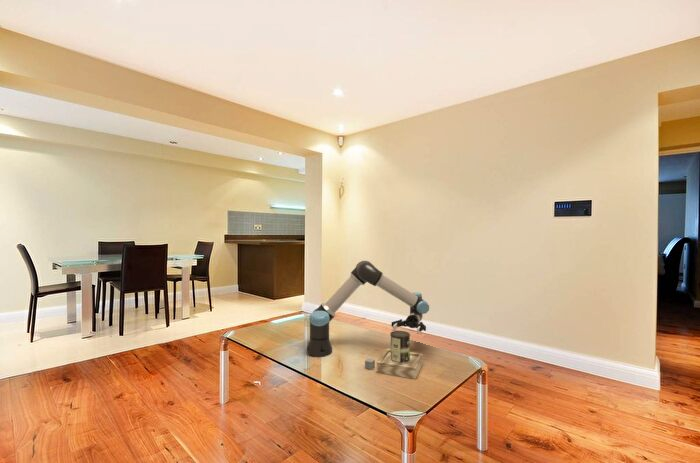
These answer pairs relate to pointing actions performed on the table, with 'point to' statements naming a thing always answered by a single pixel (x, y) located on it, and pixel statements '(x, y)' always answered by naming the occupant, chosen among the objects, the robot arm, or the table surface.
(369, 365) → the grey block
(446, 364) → the table surface
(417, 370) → the light wood tray
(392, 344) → the coffee can
